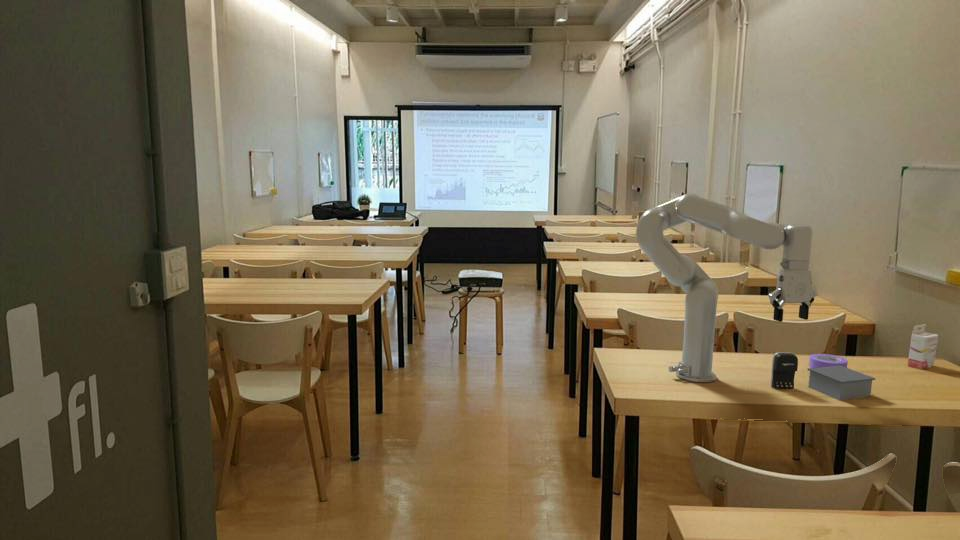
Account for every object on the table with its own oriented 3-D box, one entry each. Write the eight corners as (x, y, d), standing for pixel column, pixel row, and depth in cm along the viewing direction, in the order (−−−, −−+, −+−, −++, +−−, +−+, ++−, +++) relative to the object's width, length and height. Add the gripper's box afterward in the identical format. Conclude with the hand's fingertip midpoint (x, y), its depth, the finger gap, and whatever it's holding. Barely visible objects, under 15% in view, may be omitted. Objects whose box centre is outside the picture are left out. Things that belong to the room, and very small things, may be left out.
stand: (839, 401, 192) (841, 381, 191) (805, 386, 205) (807, 368, 204) (872, 397, 196) (875, 378, 195) (837, 383, 208) (839, 365, 207)
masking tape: (802, 363, 229) (803, 353, 229) (834, 363, 230) (835, 353, 229) (820, 374, 218) (821, 363, 217) (853, 374, 218) (855, 363, 218)
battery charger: (774, 390, 201) (777, 355, 199) (769, 386, 204) (772, 351, 203) (797, 390, 200) (800, 355, 199) (791, 386, 204) (794, 352, 202)
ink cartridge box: (922, 370, 224) (927, 329, 221) (906, 366, 228) (912, 325, 225) (934, 366, 228) (940, 326, 225) (919, 362, 232) (924, 323, 230)
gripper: (781, 268, 190) (776, 324, 193) (827, 266, 195) (822, 320, 198) (763, 264, 197) (758, 318, 200) (808, 262, 202) (803, 315, 205)
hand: (790, 319), depth 199 cm, fingers open, 9 cm apart
